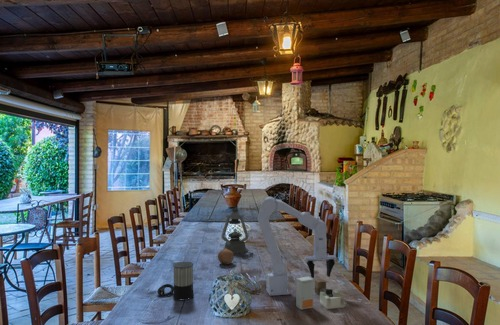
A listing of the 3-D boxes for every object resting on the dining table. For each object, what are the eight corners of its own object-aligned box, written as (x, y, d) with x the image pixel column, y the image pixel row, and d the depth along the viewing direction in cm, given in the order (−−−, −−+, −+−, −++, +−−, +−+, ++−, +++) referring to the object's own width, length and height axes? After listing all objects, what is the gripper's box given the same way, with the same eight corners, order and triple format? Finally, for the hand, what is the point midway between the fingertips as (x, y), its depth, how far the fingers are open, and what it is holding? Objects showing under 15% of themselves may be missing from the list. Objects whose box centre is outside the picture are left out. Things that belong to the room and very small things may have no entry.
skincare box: (301, 310, 156) (301, 281, 156) (296, 306, 160) (295, 278, 160) (314, 307, 158) (313, 279, 158) (308, 304, 162) (308, 276, 162)
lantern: (243, 245, 269) (243, 203, 269) (252, 252, 250) (252, 206, 250) (218, 247, 264) (218, 204, 263) (226, 254, 244) (225, 208, 244)
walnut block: (317, 295, 173) (317, 282, 173) (314, 292, 177) (314, 279, 177) (326, 294, 173) (326, 281, 173) (323, 291, 177) (322, 278, 177)
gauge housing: (319, 301, 165) (319, 291, 165) (337, 300, 166) (336, 290, 166) (326, 308, 157) (326, 298, 157) (344, 307, 159) (344, 296, 158)
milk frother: (195, 299, 169) (195, 266, 168) (158, 303, 164) (158, 269, 164) (191, 288, 182) (190, 257, 182) (157, 292, 178) (156, 260, 178)
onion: (225, 267, 227) (225, 250, 232) (237, 265, 222) (237, 248, 226) (214, 264, 221) (214, 247, 225) (226, 262, 215) (226, 245, 220)
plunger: (320, 294, 170) (320, 285, 170) (328, 294, 171) (328, 284, 171) (326, 300, 163) (326, 290, 163) (334, 299, 164) (334, 290, 164)
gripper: (307, 250, 169) (308, 280, 170) (338, 248, 172) (339, 278, 172) (302, 246, 176) (303, 275, 177) (332, 244, 179) (332, 273, 179)
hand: (320, 276), depth 175 cm, fingers open, 7 cm apart
